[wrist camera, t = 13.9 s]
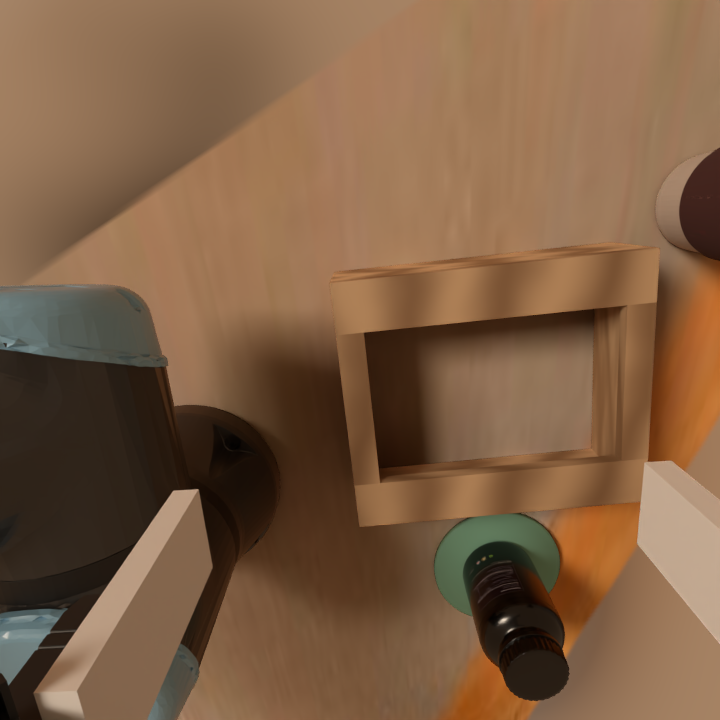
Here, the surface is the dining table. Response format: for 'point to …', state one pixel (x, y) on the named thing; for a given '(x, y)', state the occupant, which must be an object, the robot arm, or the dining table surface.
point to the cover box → (494, 301)
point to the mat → (485, 531)
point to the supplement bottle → (516, 620)
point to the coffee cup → (692, 205)
